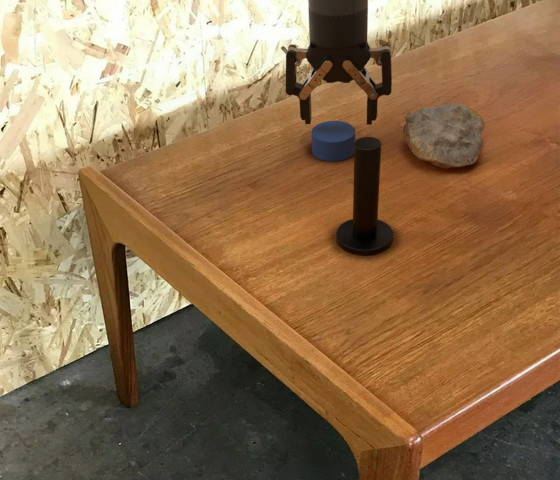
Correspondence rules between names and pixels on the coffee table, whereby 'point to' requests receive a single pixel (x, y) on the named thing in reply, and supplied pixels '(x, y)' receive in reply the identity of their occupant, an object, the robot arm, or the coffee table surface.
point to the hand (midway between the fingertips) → (338, 121)
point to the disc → (333, 140)
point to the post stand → (365, 204)
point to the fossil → (445, 134)
